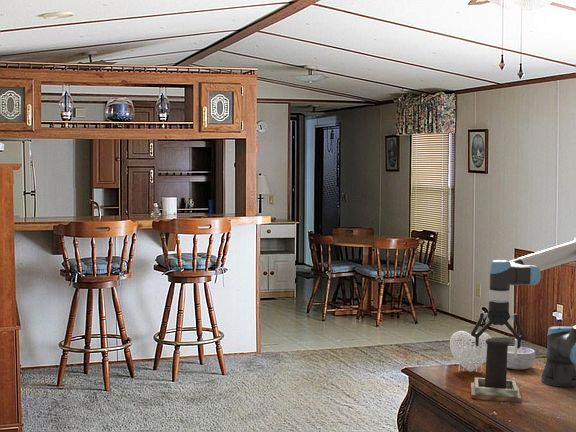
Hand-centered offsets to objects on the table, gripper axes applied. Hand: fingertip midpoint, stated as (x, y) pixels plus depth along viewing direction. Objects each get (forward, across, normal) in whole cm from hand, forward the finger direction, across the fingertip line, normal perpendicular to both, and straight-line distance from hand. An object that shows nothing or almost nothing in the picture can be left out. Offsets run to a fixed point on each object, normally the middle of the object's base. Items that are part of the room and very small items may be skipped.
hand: (497, 355), depth 328 cm
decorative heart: (+15, +9, -34) cm, 38 cm away
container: (+14, 0, 0) cm, 14 cm away
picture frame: (+15, 0, 0) cm, 15 cm away
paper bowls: (+16, -11, -48) cm, 51 cm away
